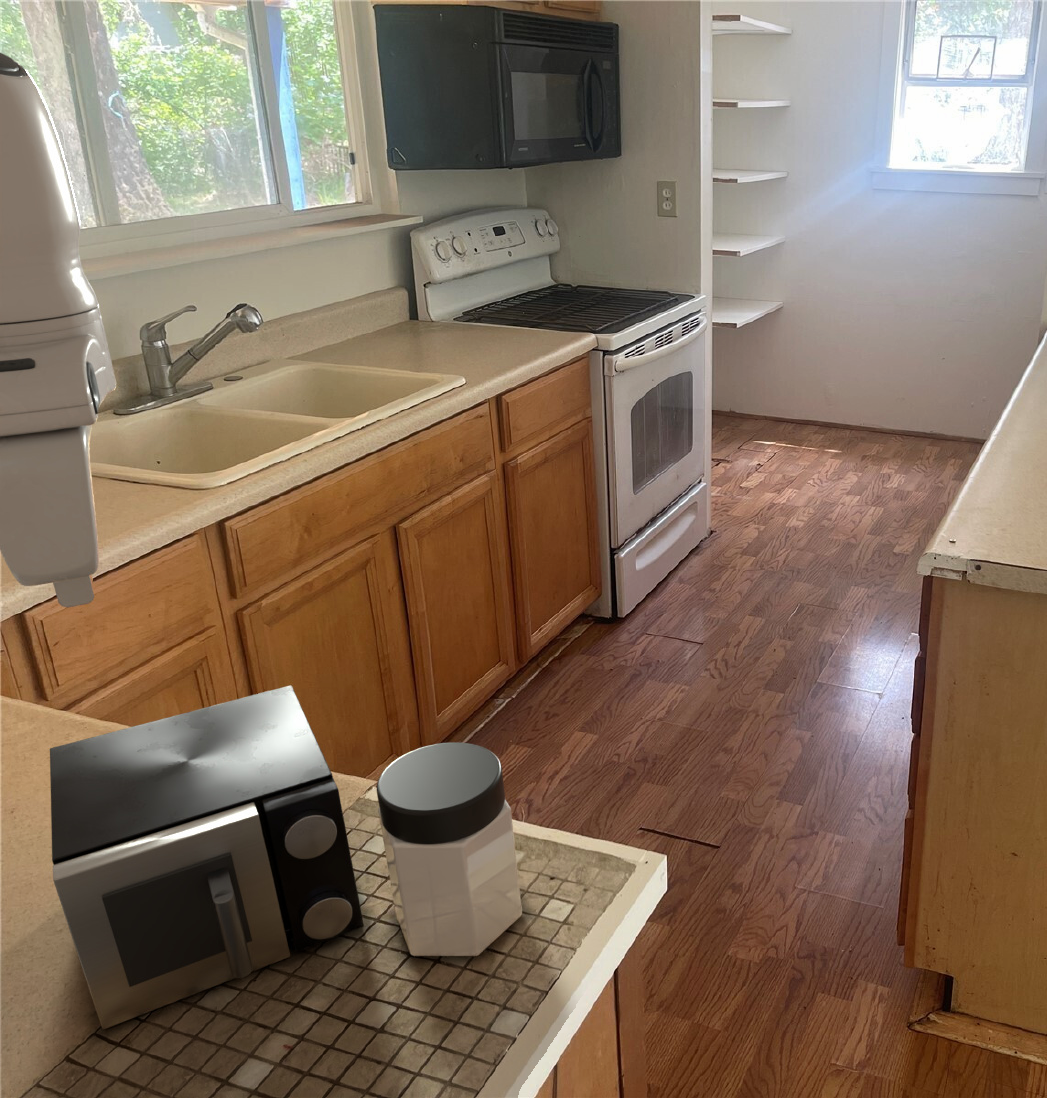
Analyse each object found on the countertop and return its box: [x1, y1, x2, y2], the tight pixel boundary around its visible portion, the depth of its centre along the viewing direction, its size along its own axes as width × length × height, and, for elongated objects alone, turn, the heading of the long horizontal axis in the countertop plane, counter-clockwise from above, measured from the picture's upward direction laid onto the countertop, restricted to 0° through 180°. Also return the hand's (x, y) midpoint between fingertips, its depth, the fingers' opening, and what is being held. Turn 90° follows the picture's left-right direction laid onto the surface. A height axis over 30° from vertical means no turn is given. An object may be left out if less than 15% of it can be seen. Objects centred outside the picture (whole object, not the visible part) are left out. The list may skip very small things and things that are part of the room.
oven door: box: [52, 802, 291, 1030], centre depth 64 cm, size 5×11×12 cm, turn 123°
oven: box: [49, 684, 365, 953], centre depth 71 cm, size 16×16×12 cm
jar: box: [376, 742, 523, 957], centre depth 71 cm, size 9×8×12 cm
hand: (77, 596), depth 61 cm, fingers closed
